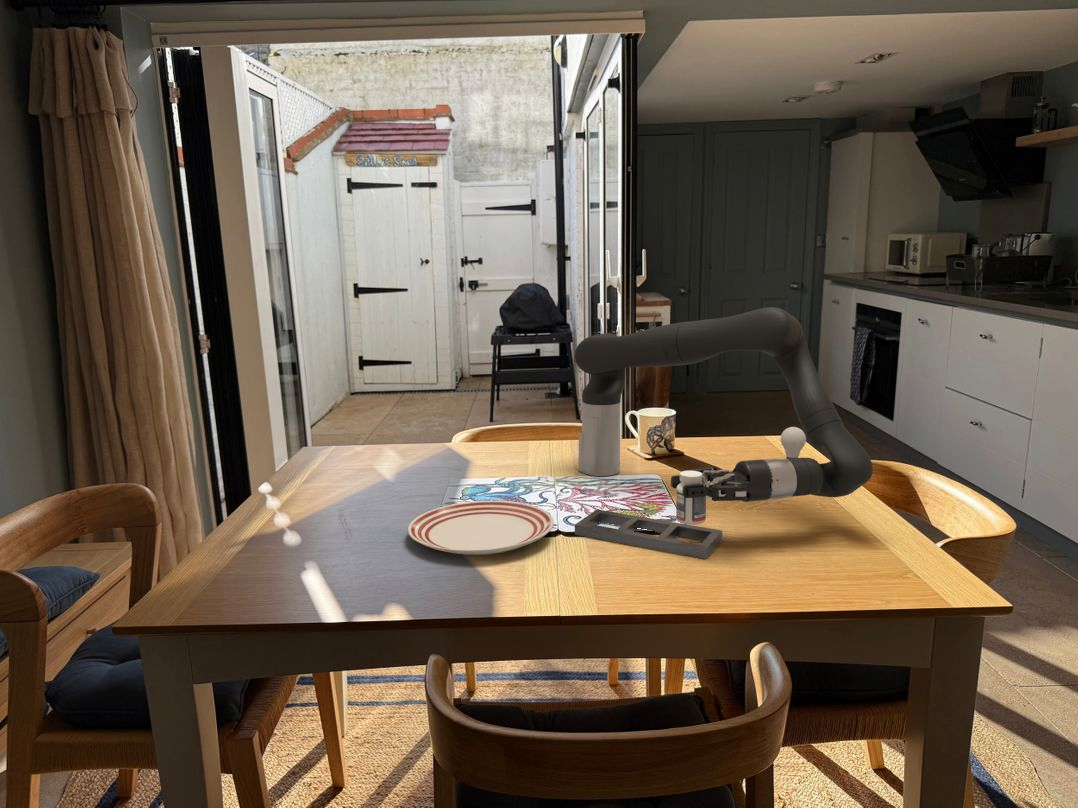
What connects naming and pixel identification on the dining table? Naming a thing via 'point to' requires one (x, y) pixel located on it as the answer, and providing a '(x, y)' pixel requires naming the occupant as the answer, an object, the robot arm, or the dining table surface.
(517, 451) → the dining table surface
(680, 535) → the compartment tray
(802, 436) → the light bulb
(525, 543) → the dinner plate
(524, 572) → the dining table surface
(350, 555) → the dining table surface
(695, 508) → the pill bottle
